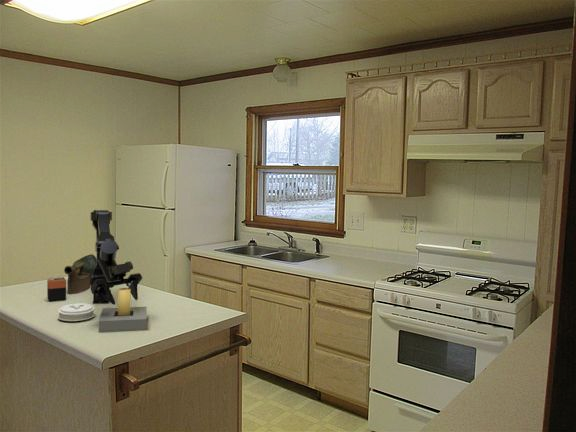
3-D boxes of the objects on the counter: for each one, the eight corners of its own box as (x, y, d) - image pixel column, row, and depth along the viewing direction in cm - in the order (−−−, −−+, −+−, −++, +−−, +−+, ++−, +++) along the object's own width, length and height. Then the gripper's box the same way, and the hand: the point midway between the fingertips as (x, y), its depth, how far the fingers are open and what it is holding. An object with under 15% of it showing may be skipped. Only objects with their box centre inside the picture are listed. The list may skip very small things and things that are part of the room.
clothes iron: (58, 295, 215) (58, 265, 214) (74, 287, 231) (74, 259, 230) (76, 296, 215) (76, 266, 214) (90, 287, 231) (90, 259, 230)
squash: (59, 272, 237) (75, 251, 232) (83, 268, 250) (98, 248, 246) (74, 294, 233) (91, 273, 228) (98, 289, 247) (114, 269, 242)
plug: (117, 323, 178) (117, 291, 177) (117, 319, 182) (118, 288, 181) (129, 322, 179) (130, 290, 178) (130, 319, 183) (130, 287, 182)
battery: (66, 300, 208) (66, 277, 207) (48, 302, 204) (48, 278, 203) (64, 298, 212) (64, 275, 211) (47, 299, 208) (47, 276, 207)
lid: (58, 315, 189) (58, 302, 188) (93, 312, 194) (93, 300, 193) (57, 325, 177) (57, 311, 177) (95, 321, 182) (95, 308, 182)
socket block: (98, 332, 171) (98, 321, 170) (102, 318, 186) (102, 308, 185) (146, 329, 175) (146, 319, 175) (146, 316, 190) (146, 306, 190)
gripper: (94, 257, 173) (111, 294, 167) (140, 252, 188) (157, 285, 182) (83, 275, 179) (99, 311, 173) (128, 269, 193) (144, 301, 188)
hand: (126, 301), depth 179 cm, fingers open, 9 cm apart
